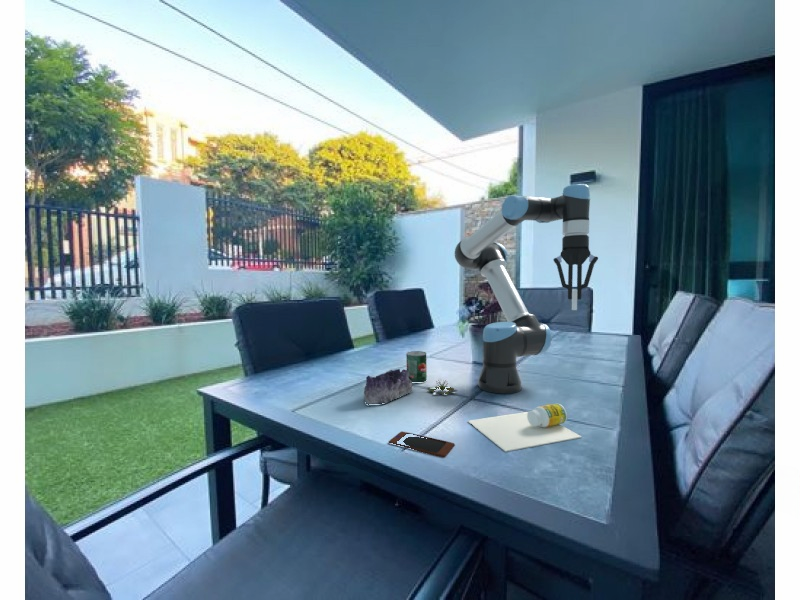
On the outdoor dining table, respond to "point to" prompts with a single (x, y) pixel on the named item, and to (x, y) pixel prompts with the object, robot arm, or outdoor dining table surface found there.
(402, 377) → the geode
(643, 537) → the outdoor dining table surface
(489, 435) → the mat
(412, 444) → the smartphone
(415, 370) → the canned tomato
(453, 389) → the lily flower
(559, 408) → the supplement bottle
